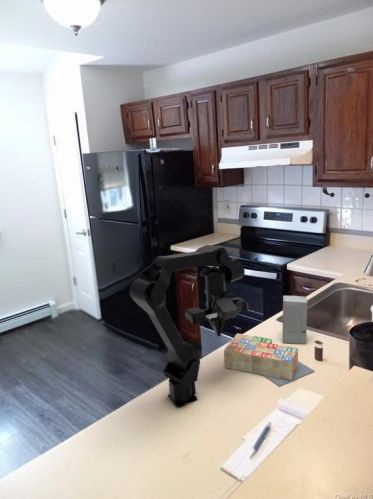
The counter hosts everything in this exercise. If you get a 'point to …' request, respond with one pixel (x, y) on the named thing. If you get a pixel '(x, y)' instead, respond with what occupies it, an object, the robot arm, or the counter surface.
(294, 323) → the skincare box
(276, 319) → the counter surface
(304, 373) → the mat
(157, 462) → the counter surface
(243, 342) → the stack of blocks
